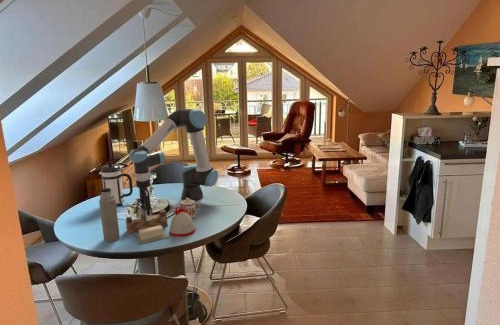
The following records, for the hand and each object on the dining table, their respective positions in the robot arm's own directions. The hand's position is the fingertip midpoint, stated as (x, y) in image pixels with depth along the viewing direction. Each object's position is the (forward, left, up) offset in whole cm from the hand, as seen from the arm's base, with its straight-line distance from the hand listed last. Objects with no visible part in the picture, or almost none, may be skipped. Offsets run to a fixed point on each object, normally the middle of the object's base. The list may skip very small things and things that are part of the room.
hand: (146, 217), depth 211 cm
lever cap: (0, 0, +3) cm, 3 cm away
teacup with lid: (-28, -5, -7) cm, 29 cm away
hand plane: (0, 0, -6) cm, 6 cm away
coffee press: (+8, -53, -7) cm, 54 cm away
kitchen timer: (-15, +15, -7) cm, 23 cm away
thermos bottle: (+20, +4, -7) cm, 22 cm away
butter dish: (+1, +13, -6) cm, 15 cm away
